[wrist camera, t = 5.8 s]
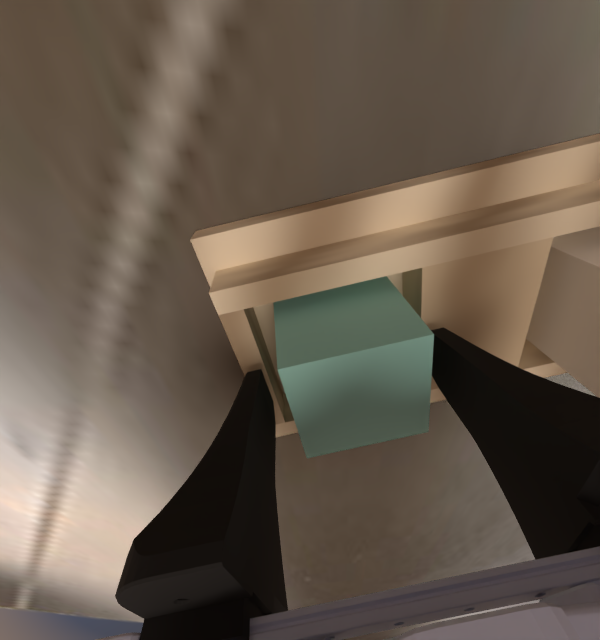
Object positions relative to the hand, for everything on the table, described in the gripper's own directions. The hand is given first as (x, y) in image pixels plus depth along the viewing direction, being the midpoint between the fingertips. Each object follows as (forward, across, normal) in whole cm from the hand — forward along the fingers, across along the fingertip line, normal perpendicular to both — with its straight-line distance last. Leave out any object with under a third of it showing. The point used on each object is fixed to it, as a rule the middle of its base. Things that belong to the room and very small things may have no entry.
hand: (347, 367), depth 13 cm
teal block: (+3, 0, 0) cm, 3 cm away
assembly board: (+4, -6, 0) cm, 7 cm away
